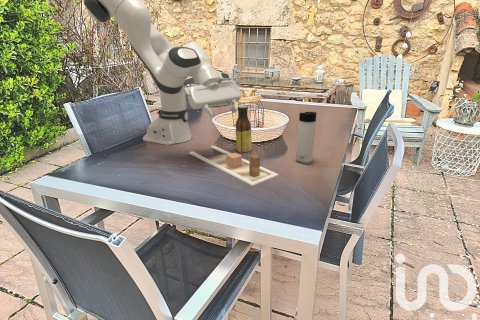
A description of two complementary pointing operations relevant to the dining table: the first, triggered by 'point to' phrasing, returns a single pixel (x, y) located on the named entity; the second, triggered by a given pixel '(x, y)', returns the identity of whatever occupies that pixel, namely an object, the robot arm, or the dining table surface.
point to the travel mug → (306, 137)
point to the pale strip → (243, 167)
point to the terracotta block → (234, 160)
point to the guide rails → (272, 174)
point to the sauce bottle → (243, 130)
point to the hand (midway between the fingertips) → (224, 113)
